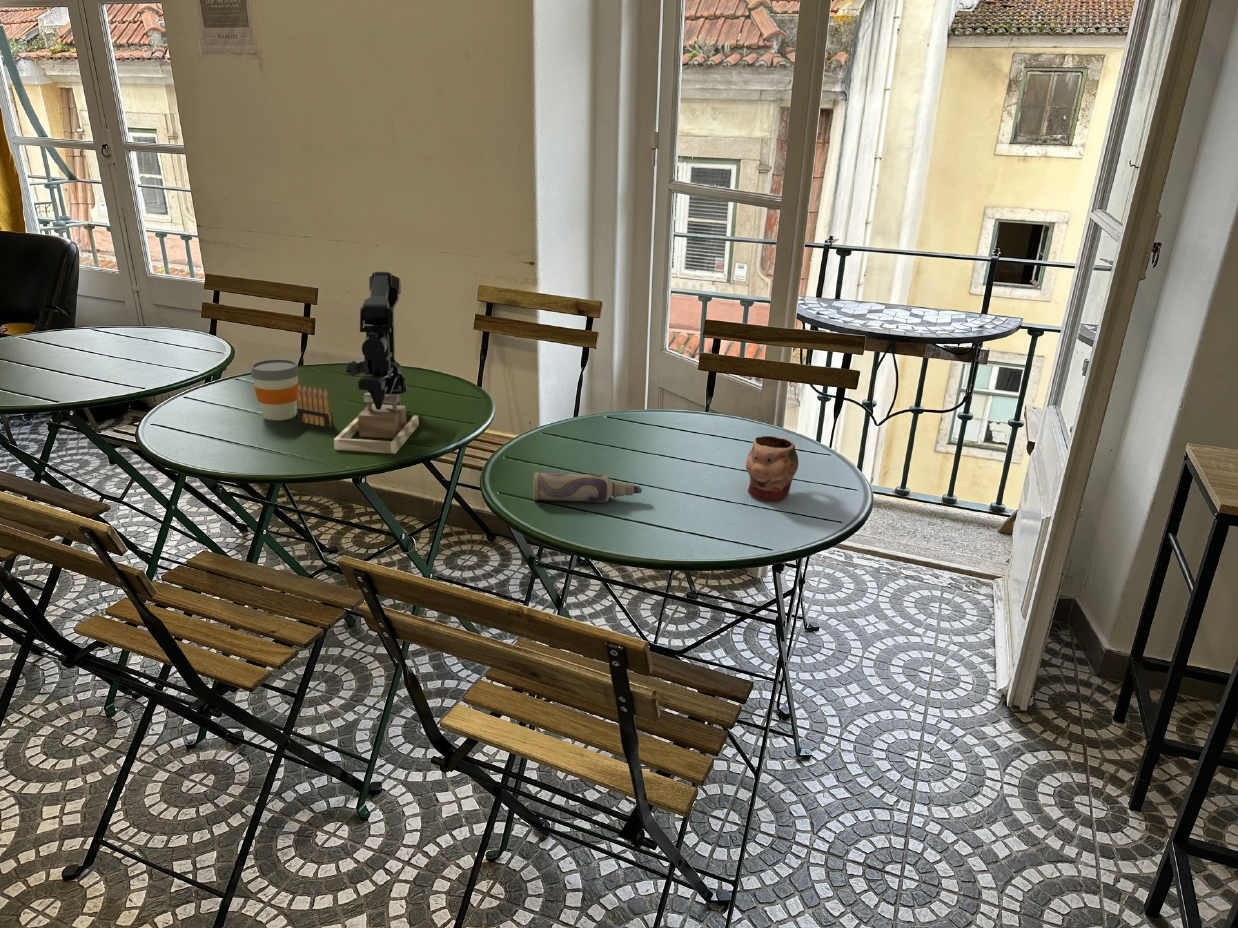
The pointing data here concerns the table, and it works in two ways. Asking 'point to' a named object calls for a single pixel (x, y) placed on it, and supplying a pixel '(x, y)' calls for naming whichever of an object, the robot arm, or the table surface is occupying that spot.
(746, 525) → the table surface
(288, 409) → the reusable coffee cup
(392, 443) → the bay
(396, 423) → the panel with bar handle
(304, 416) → the ammunition clip
